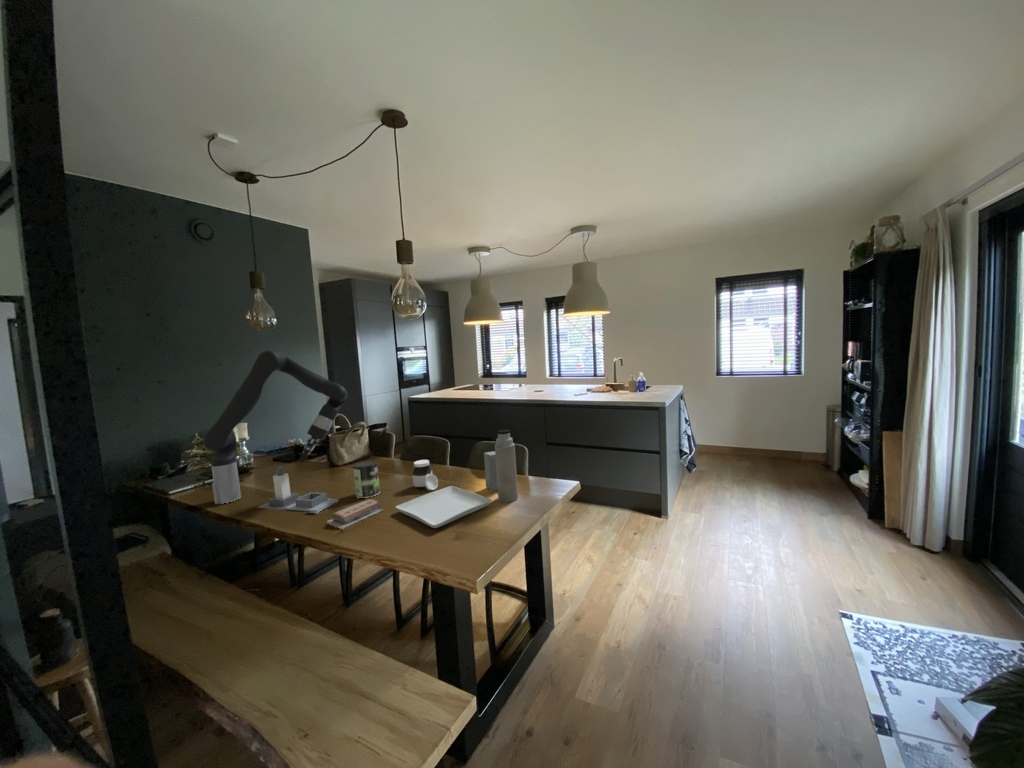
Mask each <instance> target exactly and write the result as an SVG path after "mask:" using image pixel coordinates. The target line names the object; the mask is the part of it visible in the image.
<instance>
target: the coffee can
mask: <svg viewBox="0 0 1024 768" xmlns="http://www.w3.org/2000/svg"><path fill="white" fill-rule="evenodd" d="M378 467H379V466H378V461H377V460H375V459H374V460H373V459H371V460H370V459H368V460H361V461H358V462H356V463H353V464H352V471H353V479H354V480H353V482H354V490H355V497H357V499H359V498H365V499H370V498H369V497H371V498H373V496H374V497H376V495H377V496H379V495H380V494H381V489H380V479H379V469H378ZM379 493H380V494H379Z"/></svg>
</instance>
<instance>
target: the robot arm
mask: <svg viewBox="0 0 1024 768" xmlns="http://www.w3.org/2000/svg"><path fill="white" fill-rule="evenodd" d="M276 371H278V372H281V373H285V374H287V375H289V376H291V377H293V378H294V379H295V380H297V381H298V382H299V383H301V385H303V386H305V387H306V388H309V389H310V390H313V391H314V392H316V393H319V394H322V395H324V396H327V397H328V399H327V401H326V403H325V404H323V405H322V407H321V408H320V410H319V412H318V413H317V415H316V416H315V418H314V420H313V421H312V422H311V424H310V427H309V428H308V430H307V432H306V433H307V435H309V436H311V437H310V438H309V439H307V440H306V443H305V445H304V447H303V450H302V454H301V455H300V457H299V459H298V462H299V463H305V462H306V461H307V458H308V457H309V455H310V454H311V453H312V452H313V451H314V449H315V447H316V446H317V445H318V441H317V440H321V441H324V440H325V438H326V436H327V435H328V433H329V432H330V429H331V427H332V425H333V422H334V421H335V419H336V418H337V415H338V414H339V411H340V410H341V408H342V407H343V406H344V404H345V403H346V401H347V399H348V396H349V395H348V394H349V393H348V391H347V390H346V388H345V387H344V386H342V385H341V384H340V383H337V382H333V381H331V380H329V379H327V378H325V377H324V376H322V375H320V374H319V373H316V372H314V371H312V370H310V369H308V368H305V366H302V365H300V364H299V363H298V362H295V361H294V360H293V359H292V358H290V357H289V356H287V355H286V354H284V353H283V352H282V351H280V350H277V349H268V350H267V349H265V350H264V351H262V352H260V354H258V356H257V358H256V359H255V361H254V364H253V365H252V368H251V370H250V371H249V373H248V375H247V376H246V377H245V378H244V380H243V382H242V383H241V384H240V386H239V387H238V389H237V390H236V391H235V393H234V394H233V396H232V397H231V398H230V401H229V402H228V403H227V404H226V407H225V408H224V410H223V411H222V413H221V415H220V416H219V417H218V419H216V421H215V423H214V424H213V425H212V426H211V427H210V428H209V429H208V431H207V432H206V433H205V435H204V437H203V440H202V441H203V445H204V447H205V449H207V450H208V451H213V452H214V454H213V456H212V457H211V459H210V467H211V472H212V479H213V480H212V481H213V482H212V483H211V486H212V493H213V500H214V501H213V502H214V505H225V504H224V503H226V504H230V503H229V502H231V503H234V502H236V500H237V501H238V499H239V500H240V499H241V498H242V492H241V486H240V479H239V477H240V476H239V471H238V465H237V464H238V463H237V457H238V456H237V455H238V447H237V446H238V445H237V444H238V443H237V437H236V433H235V431H234V429H235V428H236V427H237V426H238V424H239V423H241V421H243V420H244V419H245V418H246V417H248V415H249V414H250V413H251V412H252V411H253V410H254V408H255V407H256V405H257V404H258V402H259V400H260V399H261V396H262V393H263V389H264V386H265V383H266V381H267V380H268V378H269V377H270V376H271V375H272V374H273V373H274V372H276ZM233 501H234V502H233Z"/></svg>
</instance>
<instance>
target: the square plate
mask: <svg viewBox="0 0 1024 768" xmlns="http://www.w3.org/2000/svg"><path fill="white" fill-rule="evenodd" d="M492 501H493V499H490V498H488V497H486V496H483V495H481V494H478V493H475V492H473V491H469V490H466V489H464V488H459V487H457V486H453V485H450V486H447V487H443V488H441V489H438V490H435V491H434V490H433V491H432V492H429V493H426V494H424V495H421V496H418V497H415V498H413V499H410V500H409V501H405V502H403V503H400V504H398V505H396V506H394V509H396V510H397V511H399V512H400V513H402V514H403V515H406V516H408V517H409V518H410V517H411V518H413V519H415V520H417V521H419V522H421V523H423V524H425V525H426V526H428V527H431V528H433V529H438V528H440V527H443V526H445V525H447V524H449V523H451V522H454V521H456V520H458V519H460V518H463V517H465V516H467V515H469V514H472V513H474V512H476V511H479V510H481V509H484V508H485V507H486V506H488V505H489V504H490V503H491V502H492Z"/></svg>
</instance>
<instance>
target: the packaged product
mask: <svg viewBox="0 0 1024 768" xmlns="http://www.w3.org/2000/svg"><path fill="white" fill-rule="evenodd" d="M380 507H381V505H380V504H379V502H378V501H377V500H376V499H373V498H367V499H365V500H363V501H360V502H357V503H356V504H353V505H351V506H347V507H346V508H342V509H340V510H338V511H335V512H333V513H332V518H331V519H328V520H326V523H327V525H328V524H329V526H331V525H332V526H331V527H333V526H334V527H333V528H336V527H337V528H336V529H338V528H339V530H341V529H343V530H345V529H347V528H349V527H351V526H354V525H356V524H358V523H360V522H359V521H361V520H363V519H365V518H367V517H369V516H372V515H374V514H376V515H378V514H380V513H379V512H381V511H383V512H384V510H385V509H382V508H380ZM377 513H378V514H377ZM381 513H382V512H381ZM374 516H375V515H374ZM372 517H373V516H372ZM365 520H366V519H365ZM363 521H364V520H363ZM357 522H358V523H357ZM361 522H362V521H361ZM355 523H356V524H355ZM353 524H354V525H353ZM346 527H347V528H346ZM344 528H345V529H344Z"/></svg>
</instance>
